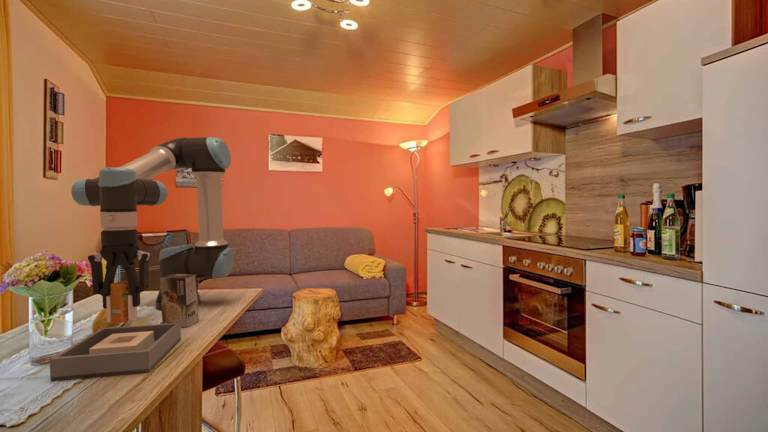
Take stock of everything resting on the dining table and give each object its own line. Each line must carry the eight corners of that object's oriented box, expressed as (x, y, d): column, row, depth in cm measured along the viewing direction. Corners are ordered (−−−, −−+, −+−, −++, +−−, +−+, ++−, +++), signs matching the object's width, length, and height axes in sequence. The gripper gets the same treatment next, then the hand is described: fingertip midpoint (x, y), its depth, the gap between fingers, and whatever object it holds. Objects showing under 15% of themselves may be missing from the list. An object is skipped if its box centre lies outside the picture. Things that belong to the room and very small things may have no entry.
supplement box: (123, 323, 88) (120, 283, 88) (111, 322, 89) (108, 283, 88) (134, 318, 92) (132, 280, 91) (123, 318, 92) (120, 280, 92)
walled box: (102, 345, 98) (102, 328, 98) (180, 339, 102) (180, 322, 102) (50, 381, 79) (49, 359, 79) (149, 372, 83) (148, 351, 83)
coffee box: (200, 320, 119) (198, 273, 118) (187, 327, 112) (186, 277, 112) (174, 320, 120) (173, 273, 119) (160, 326, 113) (159, 277, 113)
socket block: (112, 348, 95) (112, 333, 94) (154, 345, 97) (153, 330, 96) (89, 365, 85) (89, 349, 85) (136, 361, 87) (135, 345, 87)
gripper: (70, 230, 84) (74, 327, 85) (150, 229, 87) (152, 322, 88) (90, 228, 91) (93, 317, 92) (162, 227, 95) (165, 313, 96)
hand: (122, 319), depth 90 cm, fingers closed on supplement box, 4 cm apart
